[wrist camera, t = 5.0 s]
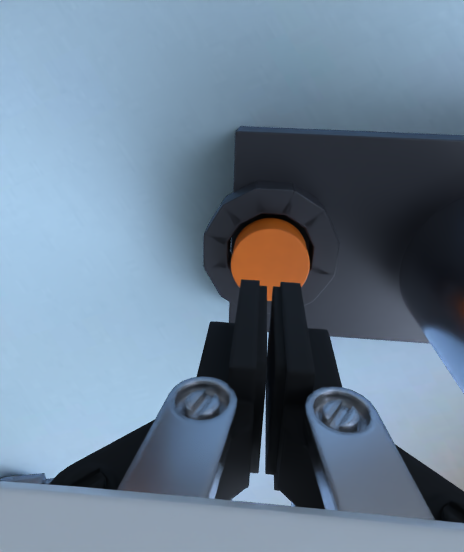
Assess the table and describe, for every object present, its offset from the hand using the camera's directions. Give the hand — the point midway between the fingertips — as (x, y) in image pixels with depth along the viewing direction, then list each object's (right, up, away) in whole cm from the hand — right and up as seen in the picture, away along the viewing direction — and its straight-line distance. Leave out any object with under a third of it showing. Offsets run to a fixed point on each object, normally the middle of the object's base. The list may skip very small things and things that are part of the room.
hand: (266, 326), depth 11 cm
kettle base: (+7, +4, +12) cm, 15 cm away
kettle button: (+1, +3, +8) cm, 9 cm away
